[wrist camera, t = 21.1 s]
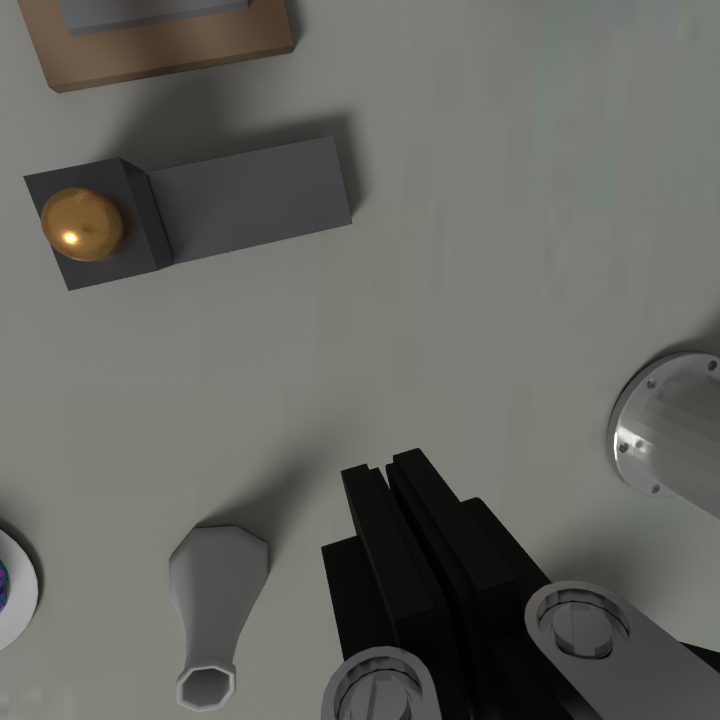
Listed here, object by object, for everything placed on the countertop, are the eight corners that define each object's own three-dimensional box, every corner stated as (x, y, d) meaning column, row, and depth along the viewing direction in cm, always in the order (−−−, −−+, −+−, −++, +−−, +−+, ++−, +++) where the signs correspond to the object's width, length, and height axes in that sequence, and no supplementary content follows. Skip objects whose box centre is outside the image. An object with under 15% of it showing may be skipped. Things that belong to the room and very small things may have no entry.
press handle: (144, 171, 26) (99, 146, 18) (174, 264, 27) (144, 275, 20) (66, 187, 25) (-12, 167, 18) (101, 280, 26) (42, 298, 19)
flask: (184, 512, 33) (156, 622, 24) (283, 533, 35) (293, 642, 26) (154, 599, 35) (116, 736, 25) (252, 615, 37) (250, 747, 27)
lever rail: (328, 141, 29) (333, 134, 27) (346, 224, 31) (352, 223, 29) (74, 192, 27) (59, 189, 25) (105, 279, 29) (94, 282, 27)
